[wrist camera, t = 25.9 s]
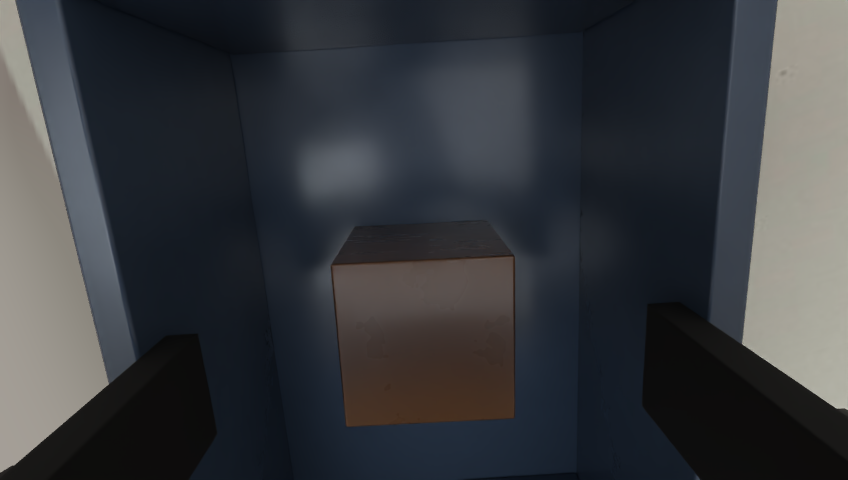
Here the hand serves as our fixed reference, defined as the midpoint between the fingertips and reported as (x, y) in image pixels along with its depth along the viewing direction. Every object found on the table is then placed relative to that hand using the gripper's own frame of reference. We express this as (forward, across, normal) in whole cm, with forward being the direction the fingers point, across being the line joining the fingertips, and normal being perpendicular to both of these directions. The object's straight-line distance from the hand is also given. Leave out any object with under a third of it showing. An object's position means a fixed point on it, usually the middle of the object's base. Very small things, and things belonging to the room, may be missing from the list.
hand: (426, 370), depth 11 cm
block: (+7, 0, 0) cm, 7 cm away
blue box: (+8, 0, 0) cm, 8 cm away
